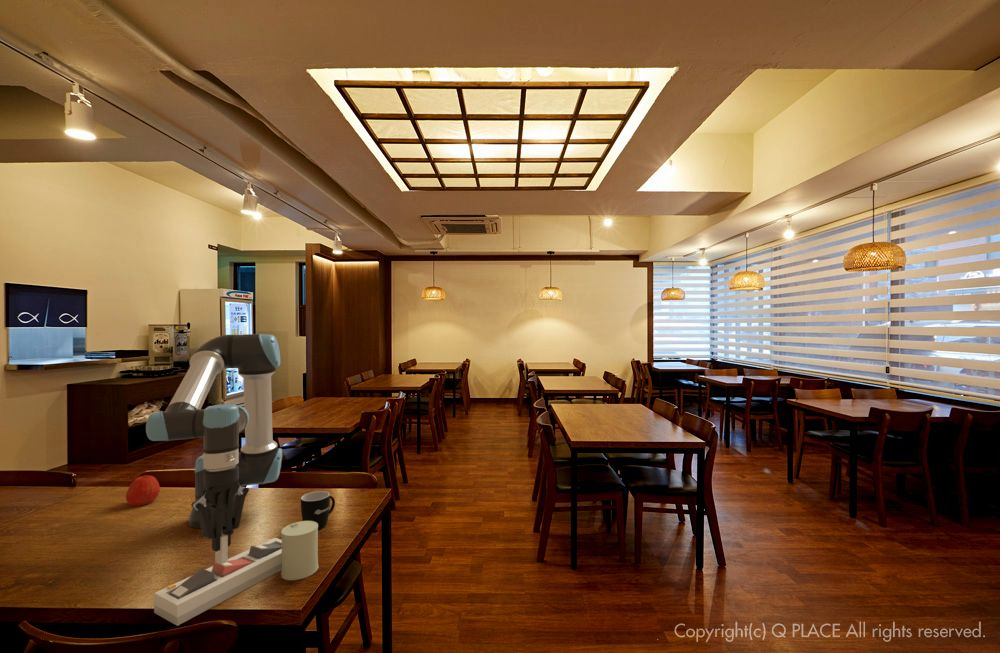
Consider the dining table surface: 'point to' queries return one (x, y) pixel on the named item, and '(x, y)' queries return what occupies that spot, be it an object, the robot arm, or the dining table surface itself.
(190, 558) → the dining table surface
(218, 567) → the rocker mid
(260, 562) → the strip
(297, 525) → the can
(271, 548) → the rocker
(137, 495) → the apple
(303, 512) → the mug
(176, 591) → the rocker
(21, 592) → the dining table surface
